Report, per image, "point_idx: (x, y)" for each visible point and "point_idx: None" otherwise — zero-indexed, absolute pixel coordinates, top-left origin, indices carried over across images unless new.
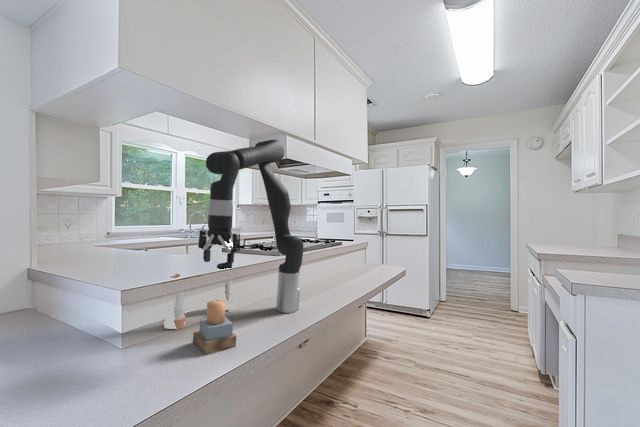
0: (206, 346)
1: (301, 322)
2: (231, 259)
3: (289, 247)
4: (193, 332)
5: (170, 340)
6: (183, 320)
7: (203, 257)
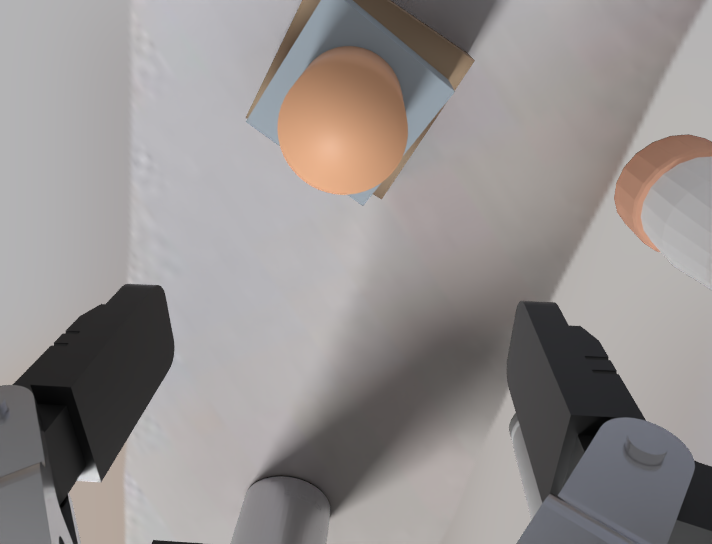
0: None
1: (166, 419)
2: (57, 340)
3: None
4: (473, 59)
5: (594, 28)
6: (629, 203)
7: (602, 351)
